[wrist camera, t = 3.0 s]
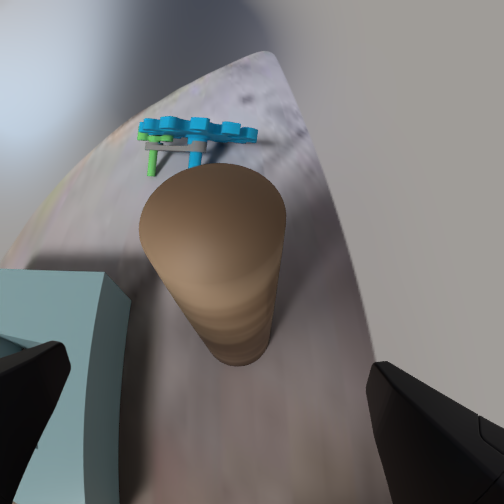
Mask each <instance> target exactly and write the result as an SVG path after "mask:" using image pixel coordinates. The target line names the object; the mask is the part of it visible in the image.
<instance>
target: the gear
mask: <svg viewBox="0 0 504 504" xmlns="http://www.w3.org/2000/svg"><path fill="white" fill-rule="evenodd" d="M240 127H241V124H239V123H233V122H223V123H222V125H220V124H214V123H211V122H210V119H208V118H199V117H191V121H189V120H183V119H180V118H177V117H173V116H165V117H160V120H158V119H150V118H145V119H144V122H140V125H139V129H138V137H137V140H143V141H149V142H146V146H145V150H150V153H149V163H148V173H147V176H155V172H156V162H157V153H158V151H176V152H190V156H189V165H188V169H189V168H192V167H195V166H199V165H201V159H202V153H206V147H207V140H211V141H214V142H222V143H228V141H229V142H234V143H241V144H243V143H246V142H251V143H256V141H257V134H258V130H257V129H254V128H249V127H242V128H240ZM149 135H153V136H149ZM181 137H185V138H188V142H187V146H166V145H163V143H160V141H166V142H173V138H176V139H181Z"/></svg>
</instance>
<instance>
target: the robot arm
mask: <svg viewBox="0 0 504 504" xmlns="http://www.w3.org/2000/svg"><path fill="white" fill-rule="evenodd" d="M70 371H71V363H70V360H69V357H68V354H67V350H66V347H65V345H64V344H63V343H62V342H58V341H54V340H52V341H49V342H46V343H43V344H40V345H37V346H34V347H31V348H28V349H25V350H22V351H20V352H17V353H14V354H11V355H8V356H5V357H2V358H0V504H12V502H13V500H14V497H15V495H16V492H17V490H18V487H19V485H20V482H21V480H22V478H23V475H24V473H25V471H26V468H27V466H28V464H29V461H30V459H31V457H32V455H33V453H34V451H35V448H36V446H37V444H38V442H39V440H40V438H41V436H42V434H43V432H44V430H45V428H46V426H47V424H48V422H49V420H50V418H51V416H52V414H53V412H54V410H55V408H56V405H57V403H58V401H59V398H60V396H61V393H62V391H63V388H64V386H65V383H66V381H67V379H68V376H69V374H70ZM366 395H367V400H368V406H369V411H370V417H371V422H372V428H373V433H374V438H375V442H376V445H377V449H378V452H379V455H380V459H381V462H382V466H383V469H384V473H385V476H386V480H387V483H388V487H389V491H390V495H391V498H392V502H393V504H504V428H502V427H500V426H498V425H496V424H494V423H492V422H490V421H489V420H487V419H485V418H483V417H482V416H478V414H476V413H474V412H473V411H471V410H469V409H467V408H466V407H464V406H462V405H461V404H459V403H457V402H455V401H454V400H452V399H450V398H448V397H447V396H445V395H443V394H442V393H440V392H438V391H437V390H435V389H433V388H431V387H430V386H428V385H426V384H425V383H423V382H421V381H419V380H418V379H416V378H415V377H413V376H411V375H409V374H408V373H406V372H404V371H403V370H401V369H399V368H398V367H396V366H394V365H393V364H391V363H389V362H388V361H382V362H375V363H373V365H372V367H371V370H370V374H369V377H368V381H367V385H366Z"/></svg>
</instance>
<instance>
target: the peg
mask: <svg viewBox="0 0 504 504" xmlns="http://www.w3.org/2000/svg"><path fill="white" fill-rule="evenodd" d="M285 227H286V210H285V205H284V202H283V199H282V197H281V195H280V193H279V192H278V190H277V189H276V188H275V186H274V185H273V184H272V183H271V182H270V181H269V180H268V179H266V178H265V177H264V176H262V175H261V174H259V173H258V172H255V171H253V170H251V169H249V168H246V167H243V166H239V165H235V164H227V163H212V164H204V165H199V166H195V167H192V168H189V169H186V170H184V171H181V172H179V173H177V174H175V175H174V176H172V177H170V178H169V179H168V180H166V181H165V182H163V183H162V184H161V185H160V186H159V187H158V188H157V189H156V190H155V191H154V192H153V193H152V195H151V196H150V198H149V199H148V201H147V202H146V204H145V206H144V208H143V211H142V214H141V217H140V222H139V236H140V241H141V245H142V247H143V250H144V252H145V254H146V255H147V257H148V259H149V260H150V262H151V264H152V265H153V267H154V268H155V270H156V272H157V273H158V275H159V276H160V278H161V280H162V281H163V283H164V284H165V286H166V287H167V289H168V290H169V292H170V294H171V295H172V297H173V298H174V300H175V301H176V303H177V304H178V306H179V307H180V309H181V310H182V312H183V313H184V315H185V316H186V318H187V319H188V320H189V322H190V323H191V325H192V326H193V328H194V329H195V331H196V332H197V333H198V335H199V336H200V338H201V339H202V341H203V342H204V343H205V345H206V346H207V347H208V349H209V350H210V352H211V353H212V354H213V355H214V357H215V358H216V359H218V360H219V361H220V362H222V363H224V364H227V365H230V366H245V365H248V364H251V363H253V362H255V361H256V360H258V359H259V358H260V357H261V356H262V355H263V353H264V352H265V350H266V348H267V346H268V342H269V337H270V330H271V324H272V318H273V311H274V304H275V298H276V291H277V284H278V277H279V270H280V263H281V256H282V249H283V242H284V234H285Z"/></svg>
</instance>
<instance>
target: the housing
mask: <svg viewBox="0 0 504 504" xmlns="http://www.w3.org/2000/svg"><path fill="white" fill-rule="evenodd" d="M130 306H131V300H130V299H129V298H128V297H127V296H126V295H125V294H124V292H123V291H122V290H121V289H120V288H119V287H118V286H117V285H116V284H115V283H114V282H113V281H112V280H111V278H110V277H109V276H108V275H107V274H106V273H105V272H85V271H50V270H21V269H0V358H2V357H5V356H8V355H11V354H14V353H17V352H20V351H22V348H25V349H28V348H31V347H34V346H37V345H40V344H43V343H46V342H49V341H52V340H54V341H58V342H62V343H63V344H64V345H65V347H66V350H67V354H68V357H69V360H70V363H71V371H70V374H69V376H68V379H67V381H66V383H65V386H64V388H63V391H62V393H61V396H60V398H59V401H58V403H57V405H56V408H55V410H54V412H53V414H52V416H51V418H50V420H49V422H48V424H47V426H46V428H45V430H44V432H43V434H42V436H41V438H40V440H39V442H38V444H37V446H36V448H35V451H34V453H33V455H32V457H31V459H30V461H29V464H28V466H27V468H26V471H25V473H24V475H23V478H22V480H21V482H20V485H19V487H18V490H17V492H16V495H15V497H14V500H13V501H14V502H16V503H18V504H120V503H119V477H118V439H119V412H120V396H121V382H122V371H123V361H124V351H125V343H126V335H127V327H128V320H129V313H130Z"/></svg>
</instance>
